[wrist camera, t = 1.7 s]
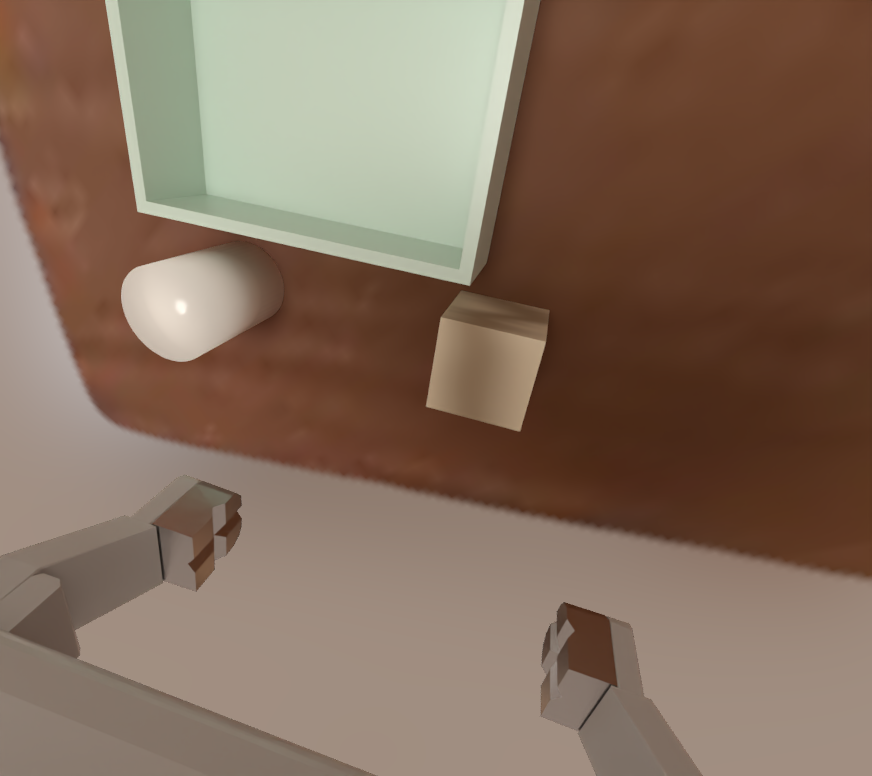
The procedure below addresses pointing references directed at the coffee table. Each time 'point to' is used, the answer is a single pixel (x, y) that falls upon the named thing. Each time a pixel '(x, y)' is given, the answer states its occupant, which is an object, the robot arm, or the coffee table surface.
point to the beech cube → (487, 359)
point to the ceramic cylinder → (201, 298)
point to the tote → (327, 121)
